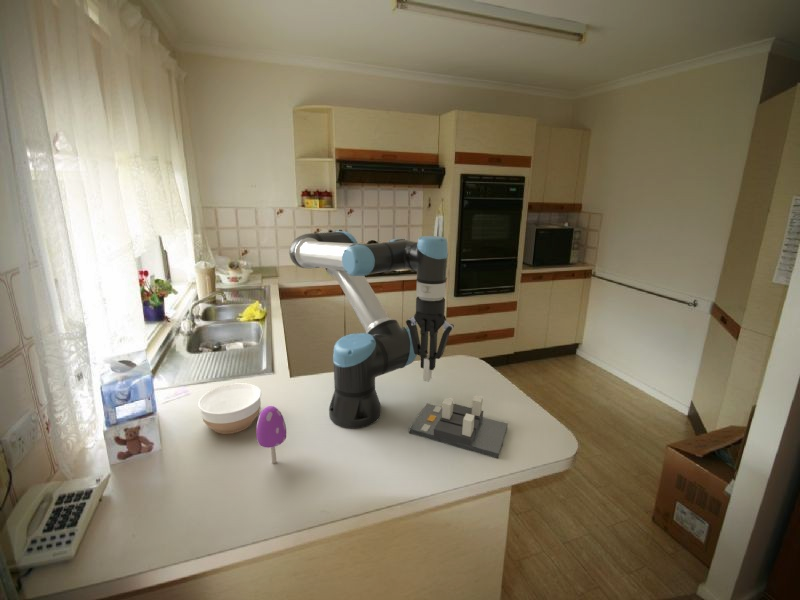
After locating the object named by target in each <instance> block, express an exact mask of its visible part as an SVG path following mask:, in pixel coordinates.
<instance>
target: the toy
mask: <svg viewBox="0 0 800 600" xmlns="http://www.w3.org/2000/svg"><path fill="white" fill-rule="evenodd" d="M259 413H260V414H259V416H258V418H257V423H256V428H255V429H256V432H255V433H256V440H257V441H256V442H257V443H258V445H259V446H261V447H263V448H267V449H269V448H270V455H271V458H270V459H271V464H277V462H278V461H277V454H276V453H277V452H276V447H277V446H279V445H281V444H282V443H284V441H286V439H287V426H286V422H285V418H284V416H283V414H282V412H281V411H280V410H279V409H278V408H277V407H275V406H273V405H269V406H266V407H264V408H263V409H262V410H261V412H259Z"/></svg>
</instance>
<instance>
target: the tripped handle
mask: <svg viewBox="0 0 800 600" xmlns="http://www.w3.org/2000/svg"><path fill="white" fill-rule="evenodd" d="M454 403H455V401H454V399H452V398H450V397H449V398H447V397H445V399H444V400H443V401H442V406H441V407H442V418H445V419H449V420H450V418H451V416H452V414H453V404H454Z"/></svg>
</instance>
